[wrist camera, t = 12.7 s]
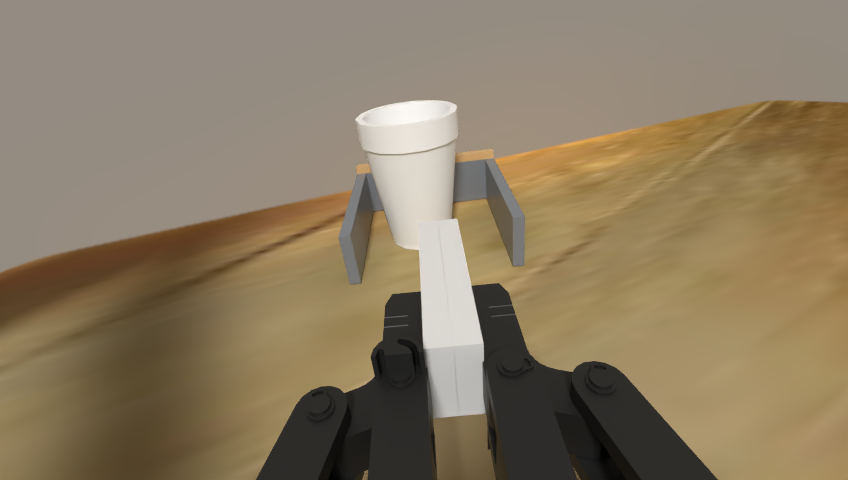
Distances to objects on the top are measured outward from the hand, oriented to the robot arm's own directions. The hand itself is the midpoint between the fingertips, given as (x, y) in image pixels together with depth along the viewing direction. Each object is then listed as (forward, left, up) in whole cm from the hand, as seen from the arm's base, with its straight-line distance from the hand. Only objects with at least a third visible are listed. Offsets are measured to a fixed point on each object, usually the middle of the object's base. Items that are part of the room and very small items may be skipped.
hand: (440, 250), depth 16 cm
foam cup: (-2, +25, -13) cm, 29 cm away
